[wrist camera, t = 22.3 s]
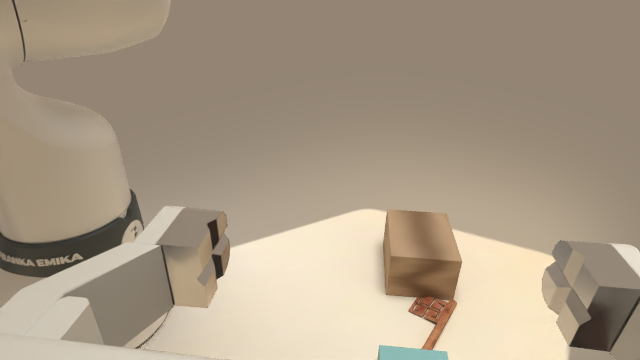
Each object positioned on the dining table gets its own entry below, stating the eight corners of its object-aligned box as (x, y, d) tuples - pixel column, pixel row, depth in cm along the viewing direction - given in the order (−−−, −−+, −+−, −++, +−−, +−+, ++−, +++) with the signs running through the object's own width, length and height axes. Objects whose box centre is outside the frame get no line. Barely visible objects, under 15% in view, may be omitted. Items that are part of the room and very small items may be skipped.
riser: (386, 294, 48) (390, 255, 45) (383, 244, 57) (387, 209, 54) (452, 300, 47) (462, 261, 44) (439, 248, 56) (446, 213, 53)
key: (422, 293, 49) (362, 381, 38) (422, 287, 48) (362, 375, 37) (469, 311, 46) (419, 413, 35) (470, 305, 45) (419, 406, 34)
